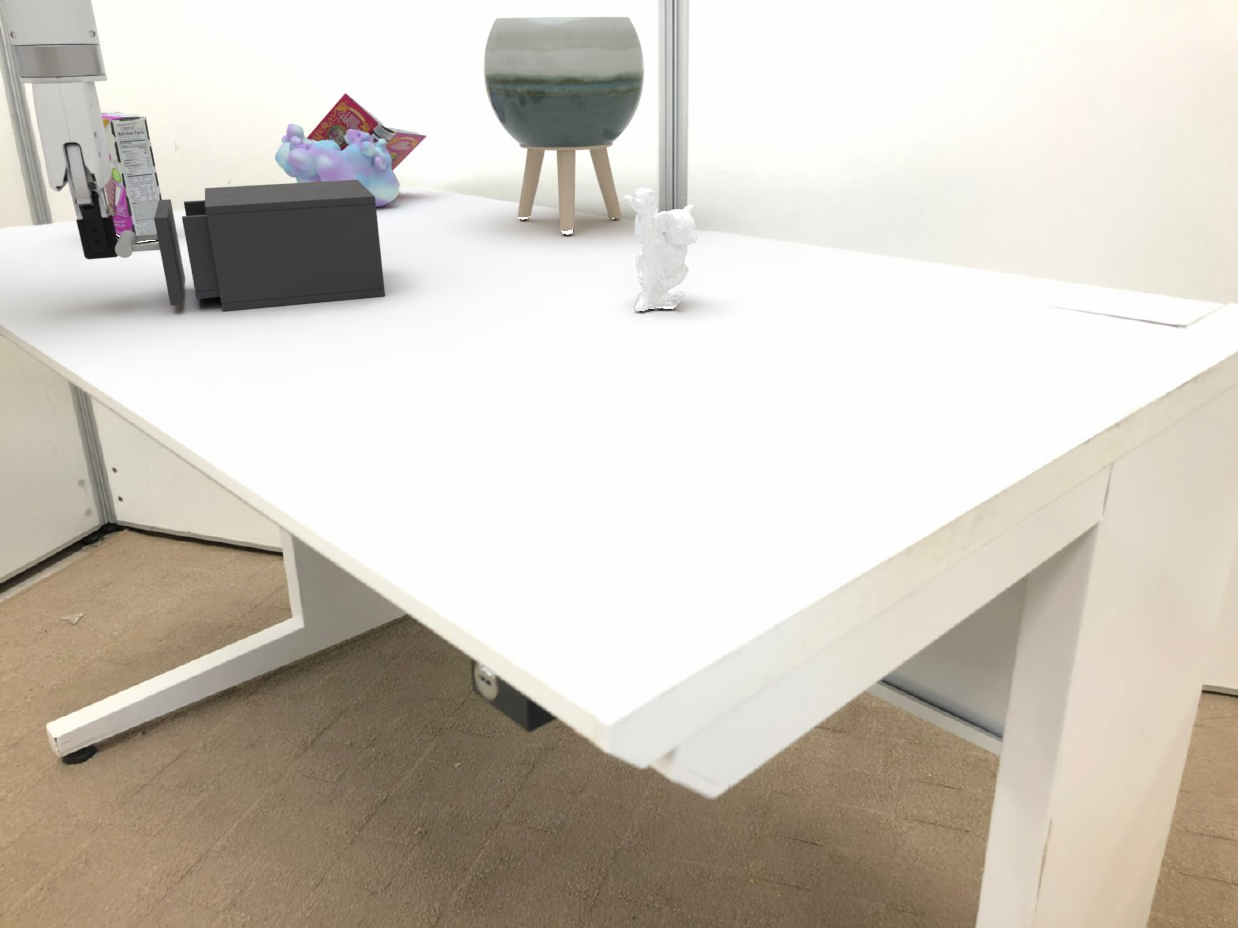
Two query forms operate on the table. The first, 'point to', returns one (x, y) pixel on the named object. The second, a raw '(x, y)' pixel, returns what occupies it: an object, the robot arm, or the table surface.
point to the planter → (564, 96)
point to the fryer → (294, 243)
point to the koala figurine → (660, 249)
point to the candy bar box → (131, 173)
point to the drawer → (178, 249)
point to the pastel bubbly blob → (348, 150)
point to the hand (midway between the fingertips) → (103, 256)
